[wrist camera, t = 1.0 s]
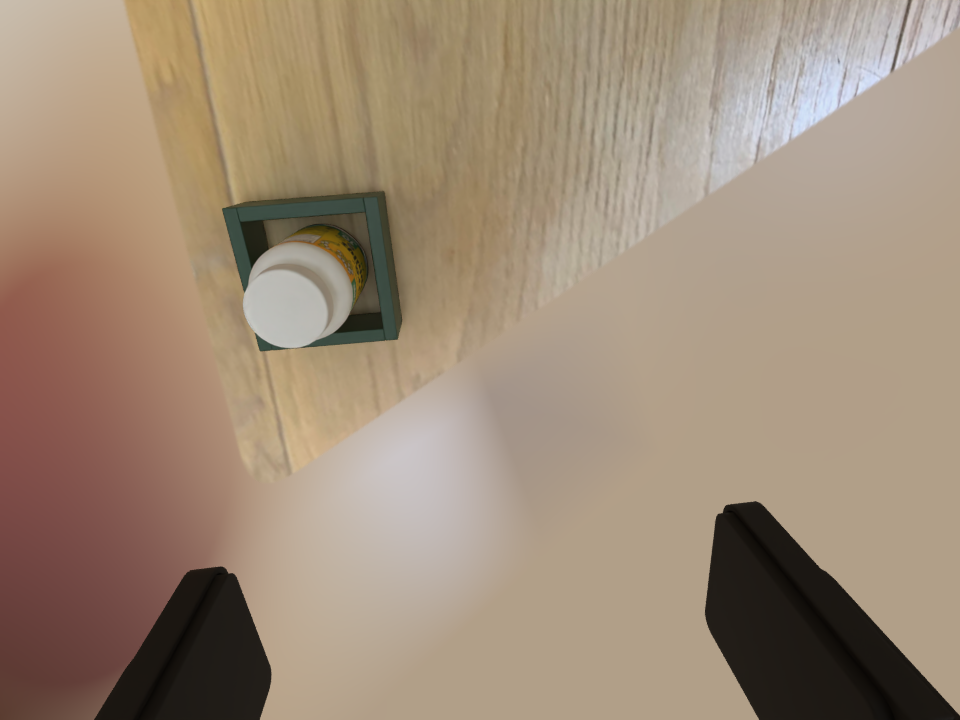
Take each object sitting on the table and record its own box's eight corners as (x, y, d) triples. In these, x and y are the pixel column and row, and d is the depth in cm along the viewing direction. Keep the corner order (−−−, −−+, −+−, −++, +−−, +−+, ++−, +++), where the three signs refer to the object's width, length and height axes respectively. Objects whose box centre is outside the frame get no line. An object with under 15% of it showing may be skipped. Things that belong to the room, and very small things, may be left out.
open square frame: (244, 201, 31) (221, 208, 27) (384, 191, 31) (377, 196, 28) (276, 332, 34) (259, 351, 31) (402, 321, 34) (398, 339, 31)
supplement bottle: (275, 229, 31) (209, 261, 23) (359, 217, 31) (326, 245, 23) (298, 309, 34) (246, 368, 25) (377, 298, 34) (353, 353, 25)
